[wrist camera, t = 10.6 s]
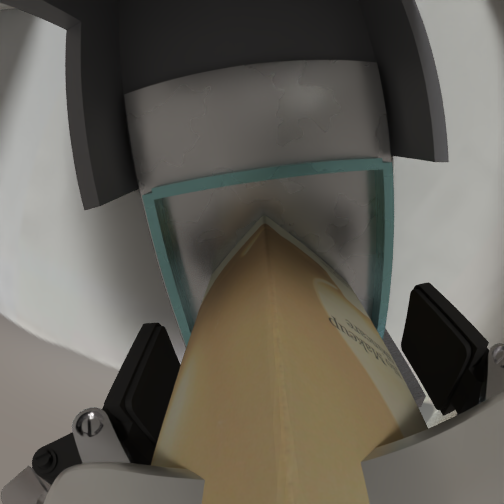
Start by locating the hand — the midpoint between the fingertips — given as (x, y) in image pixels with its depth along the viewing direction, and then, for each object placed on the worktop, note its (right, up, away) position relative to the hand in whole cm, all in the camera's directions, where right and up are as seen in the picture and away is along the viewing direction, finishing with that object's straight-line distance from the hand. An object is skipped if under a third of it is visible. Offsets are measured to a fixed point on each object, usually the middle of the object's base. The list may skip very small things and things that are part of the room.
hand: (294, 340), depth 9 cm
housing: (-2, +15, +1) cm, 15 cm away
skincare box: (0, +2, +4) cm, 5 cm away
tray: (0, +5, +5) cm, 7 cm away
